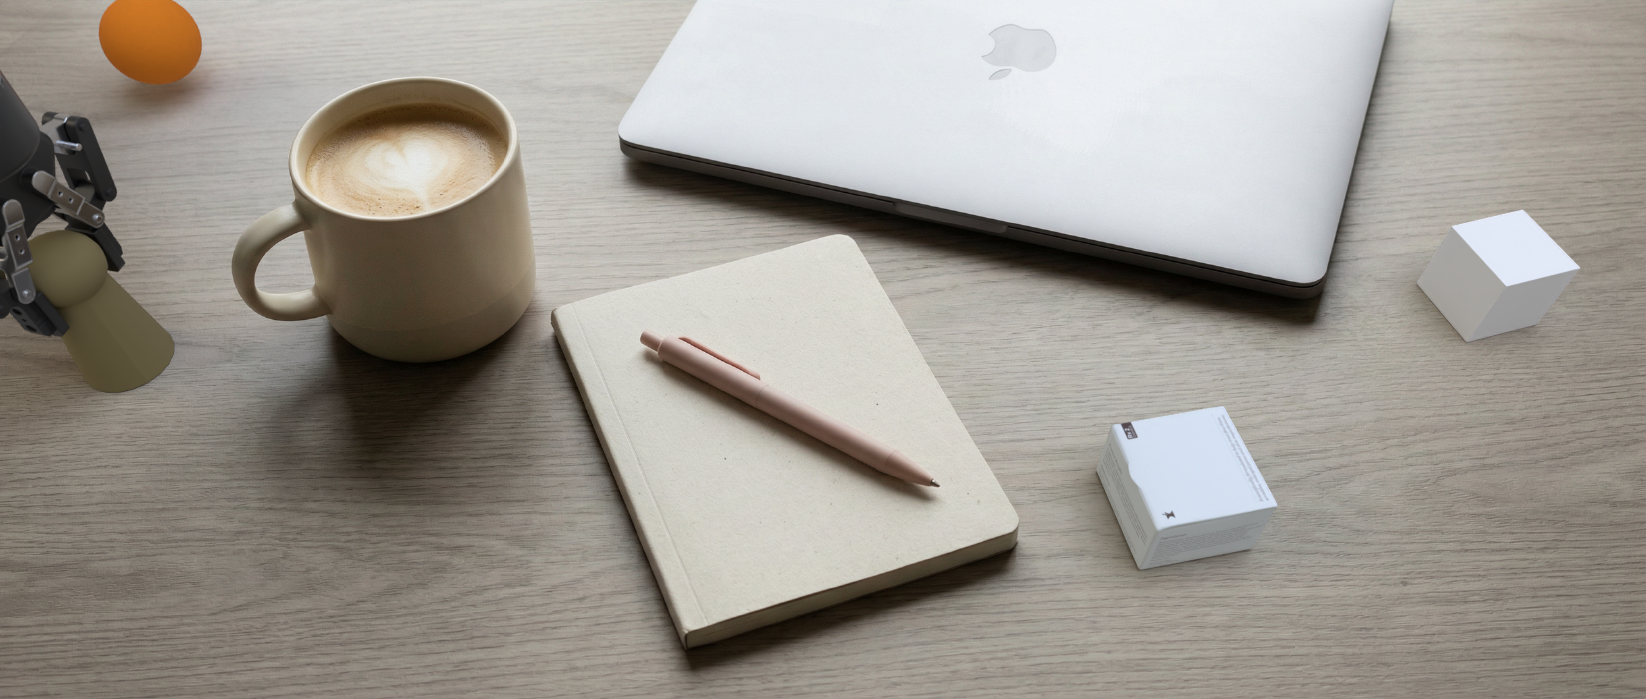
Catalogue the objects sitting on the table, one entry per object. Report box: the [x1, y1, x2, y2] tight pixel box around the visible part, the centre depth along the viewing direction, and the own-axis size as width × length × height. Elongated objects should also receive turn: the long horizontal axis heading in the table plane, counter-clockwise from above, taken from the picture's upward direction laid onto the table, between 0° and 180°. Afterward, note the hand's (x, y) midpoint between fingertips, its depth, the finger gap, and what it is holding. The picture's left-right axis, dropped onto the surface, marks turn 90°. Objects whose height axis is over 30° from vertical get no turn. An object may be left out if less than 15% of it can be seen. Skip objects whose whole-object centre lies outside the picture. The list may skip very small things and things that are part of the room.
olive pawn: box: [28, 229, 175, 393], centre depth 74 cm, size 6×6×11 cm
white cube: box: [1416, 209, 1581, 343], centre depth 80 cm, size 6×6×6 cm
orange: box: [98, 0, 203, 85], centre depth 96 cm, size 8×8×8 cm
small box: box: [1095, 405, 1279, 571], centre depth 69 cm, size 8×8×5 cm
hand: (82, 297), depth 74 cm, fingers closed on olive pawn, 5 cm apart
